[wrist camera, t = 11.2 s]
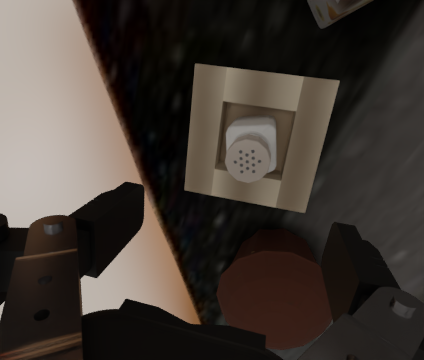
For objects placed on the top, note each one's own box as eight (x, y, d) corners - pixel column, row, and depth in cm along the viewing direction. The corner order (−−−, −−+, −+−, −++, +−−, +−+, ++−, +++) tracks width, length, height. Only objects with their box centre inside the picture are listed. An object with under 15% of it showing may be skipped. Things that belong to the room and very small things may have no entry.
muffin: (304, 203, 31) (317, 258, 22) (341, 283, 33) (366, 362, 24) (210, 237, 35) (188, 295, 26) (249, 306, 37) (241, 382, 28)
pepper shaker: (236, 155, 30) (221, 188, 21) (234, 116, 28) (216, 134, 20) (276, 154, 29) (276, 188, 20) (275, 113, 28) (276, 131, 19)
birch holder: (330, 80, 26) (339, 80, 23) (301, 196, 31) (305, 213, 27) (205, 65, 28) (195, 63, 25) (194, 177, 33) (184, 190, 29)
